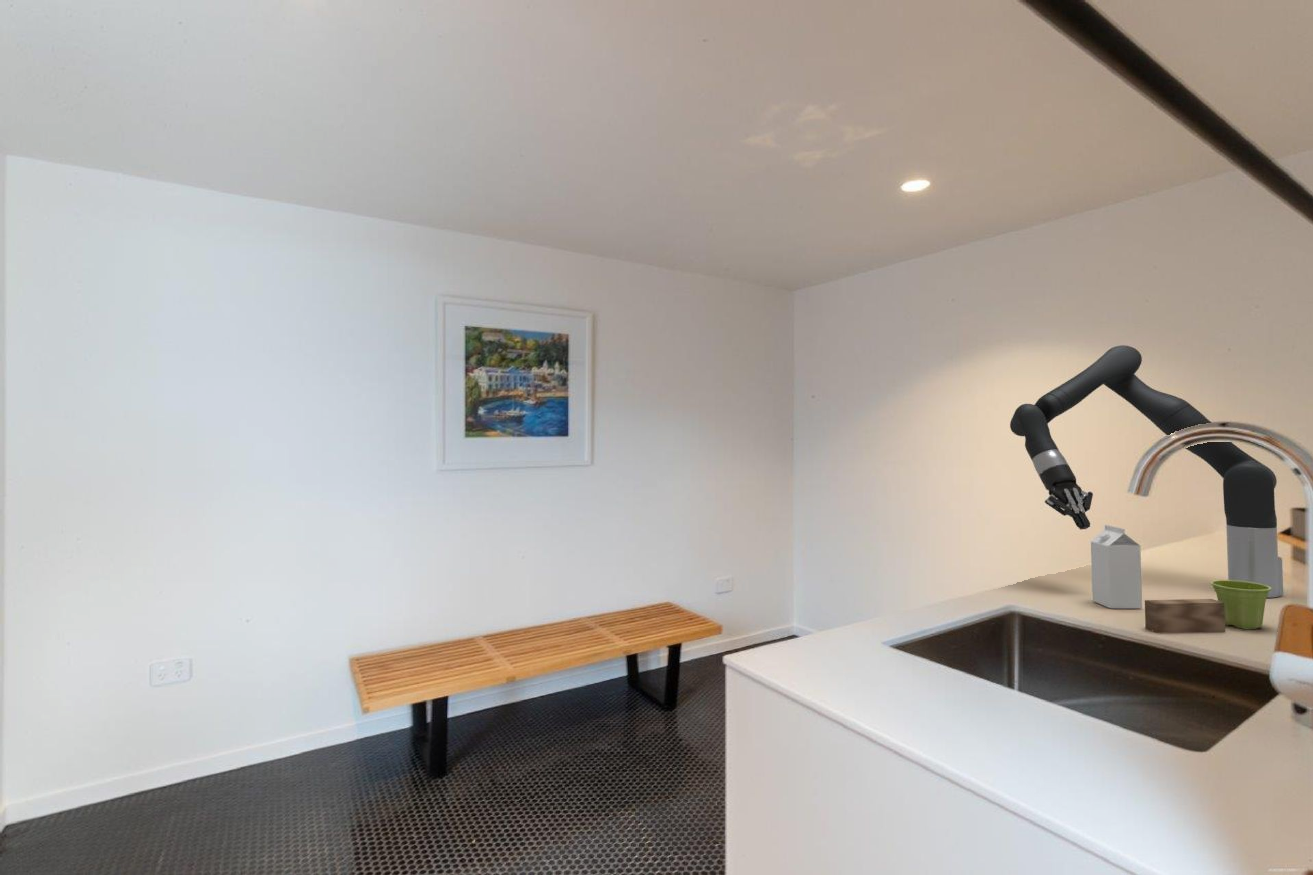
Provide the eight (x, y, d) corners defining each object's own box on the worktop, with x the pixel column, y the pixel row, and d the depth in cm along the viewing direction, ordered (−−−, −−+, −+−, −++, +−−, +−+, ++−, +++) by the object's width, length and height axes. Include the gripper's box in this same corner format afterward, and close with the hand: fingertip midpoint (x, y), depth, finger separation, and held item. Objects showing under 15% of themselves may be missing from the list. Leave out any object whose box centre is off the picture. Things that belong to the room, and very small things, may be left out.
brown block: (1210, 626, 130) (1209, 598, 130) (1225, 631, 126) (1224, 602, 127) (1144, 627, 130) (1143, 599, 130) (1156, 632, 127) (1155, 603, 127)
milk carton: (1122, 601, 151) (1120, 524, 151) (1142, 609, 144) (1140, 528, 144) (1092, 601, 152) (1089, 524, 152) (1110, 609, 144) (1108, 529, 145)
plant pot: (1220, 628, 128) (1219, 587, 128) (1205, 616, 137) (1204, 578, 137) (1281, 634, 124) (1279, 591, 124) (1261, 621, 132) (1260, 581, 132)
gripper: (1067, 474, 171) (1099, 531, 162) (1023, 478, 169) (1053, 536, 160) (1084, 460, 164) (1118, 519, 155) (1039, 465, 163) (1071, 525, 154)
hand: (1085, 528), depth 158 cm, fingers closed
